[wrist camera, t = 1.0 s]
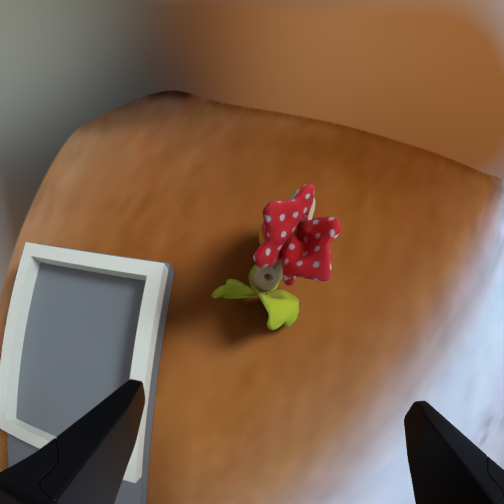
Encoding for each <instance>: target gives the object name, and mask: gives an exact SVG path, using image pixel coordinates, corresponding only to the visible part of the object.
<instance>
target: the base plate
mask: <svg viewBox="0 0 504 504" xmlns="http://www.w3.org/2000/svg"><path fill="white" fill-rule="evenodd" d="M174 273H175V271H174V269H173V268H172V266H171V264H170V263H164V262H157V261H150V260H143V259H136V258H129V257H122V256H115V255H109V254H102V253H95V252H89V251H82V250H76V249H69V248H63V247H57V246H50V245H44V244H38V243H37V244H34V243H28V242H26V244H25V247H24V250H23V254H22V257H21V261H20V264H19V268H18V272H17V276H16V280H15V284H14V288H13V292H12V296H11V301H10V306H9V311H8V316H7V321H6V327H5V333H4V339H3V346H2V353H1V361H0V429H2V430H4V431H5V432H7V447H8V468H9V467H11V466H12V465H14V464H16V463H18V462H20V461H21V460H23V459H25V458H27V457H28V456H30V455H31V454H33V453H35V452H36V451H38V450H39V449H40V448H42V447H43V446H45V445H46V444H47V443H49V442H50V441H51V440H53V439H54V438H56V437H57V436H58V435H59V434H61V433H62V432H63V431H64V430H66V429H67V428H68V427H70V426H71V425H72V424H73V423H75V422H76V421H77V420H79V419H80V418H81V417H82V416H84V415H85V414H86V413H87V412H89V411H90V410H91V409H92V408H94V407H95V406H96V405H98V404H99V403H100V402H101V401H103V400H104V399H105V398H106V397H108V396H109V395H110V394H111V393H113V392H114V391H115V390H116V389H118V388H119V387H120V386H121V385H123V384H124V383H125V382H126V381H128V380H129V379H134V380H139V381H142V383H143V386H144V392H145V406H144V410H143V414H142V418H141V422H140V427H139V431H138V436H137V440H136V444H135V447H134V449H133V452H132V455H131V458H130V460H129V463H128V466H127V469H126V472H125V474H124V477H123V480H122V483H121V486H120V488H119V491H118V494H117V497H116V500H115V503H114V504H147V485H148V470H149V456H150V444H151V433H152V423H153V414H154V404H155V396H156V388H157V380H158V372H159V365H160V357H161V350H162V344H163V337H164V331H165V324H166V318H167V312H168V306H169V300H170V295H171V289H172V284H173V278H174Z"/></svg>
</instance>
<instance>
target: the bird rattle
mask: <svg viewBox="0 0 504 504" xmlns="http://www.w3.org/2000/svg"><path fill="white" fill-rule="evenodd" d="M314 188H315V187H314V185H313V184H307V185H304V186H303V187H302V188H301V189H300V190H296V191H295V192H294V193H293V194H292V196H291V197H290V199H289V200H281V201H271V202H269V203H268V204H267V205H266V206H265V208H264V209H263V217H264V222H263V224H262V226H261V228H260V231H259V243H260V246H259V247H258V249H257V250H256V251H255V253H254V255H253V259H254V261H255V265H254V266H253V268H252V269H251V270H250V272H249V275H248V279H249V285H250V286H247V285H245V284H244V283H242V282H240V281H238V280H236V279H228V280H227V281H226V284H225V285H223V286H220V287H219V288H217V289H216V290H215V291H214V292H213V293H212V297H213V298H219V297H221V296H222V297H223V298H226V299H241V298H248V297H253V296H257V295H258V296H259V298H260V300H261V301H262V303H263V305H264V306H265V308H266V310H267V312H268V314H269V317H268V321H267V327H268V328H269V329H270V330H275V329H278V328H279V327H280V326H281V325H282V324H284V325H285V326H286V327H290V326H291V325H292V324H293V323H294V322H295V321H296V319H297V316H298V312H299V305H298V303H299V301H298V299H297V298H296V297H295V296H293V295H292V294H290V293H289V292H287V291H285V290H275V289H276V288H277V286H278V284H279V281H280V280H281V278H282V277H283V280H284V283H285V285H292V284H293V282H294V280H295V277H301V278H307V279H312V280H317V281H326V280H328V279H330V278H331V276H332V268H331V254H330V245H331V242H332V241H333V240H334V239H335V238H336V237H337V236H338V234H339V233H340V231H341V224H340V222H339V220H338V219H336V218H334V217H319V218H315V219H312V217H313V213H314V210H315V199H314Z"/></svg>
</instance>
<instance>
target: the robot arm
mask: <svg viewBox="0 0 504 504" xmlns="http://www.w3.org/2000/svg"><path fill="white" fill-rule="evenodd" d="M144 406H145V392H144V386H143V383H142V381H139V380H134V379H129V380H128V381H126V382H125V383H124V384H123V385H121V386H120V387H119V388H118V389H116V390H115V391H114V392H113V393H111V394H110V395H109V396H108V397H106V398H105V399H104V400H103V401H101V402H100V403H99V404H98V405H96V406H95V407H94V408H92V409H91V410H90V411H89V412H87V413H86V414H85V415H84V416H82V417H81V418H80V419H79V420H77V421H76V422H75V423H73V424H72V425H71V426H70V427H68V428H67V429H66V430H64V431H63V432H62V433H61V434H59V435H58V436H57V437H56V438H54V439H53V440H51V441H50V442H49V443H47V444H46V445H45V446H43V447H42V448H40V449H39V450H38V451H36V452H35V453H33V454H31V455H30V456H28V457H27V458H25V459H23V460H21V461H20V462H18V463H16V464H14V465H12V466H11V467H9V468H7V469H5V470H3V471H2V472H0V504H114V503H115V500H116V497H117V494H118V491H119V488H120V486H121V483H122V480H123V477H124V474H125V472H126V469H127V466H128V463H129V460H130V458H131V455H132V452H133V449H134V447H135V444H136V440H137V436H138V431H139V427H140V422H141V418H142V414H143V410H144ZM404 426H405V435H406V446H407V456H408V462H409V467H410V473H411V478H412V484H413V490H414V496H415V502H416V504H504V470H503V469H502V468H501V467H500V466H498V465H497V464H496V463H495V462H494V461H493V460H492V459H490V458H489V457H487V455H486V454H485V453H484V452H483V451H481V450H480V449H479V448H478V447H477V446H476V445H475V444H474V443H472V442H471V441H470V440H469V439H468V438H467V437H466V436H465V435H463V434H462V433H461V432H460V431H459V430H458V429H457V428H456V427H454V426H453V425H452V424H451V423H450V422H449V421H448V420H447V419H445V418H444V417H443V416H442V415H441V414H440V413H439V412H438V411H436V410H435V409H434V408H433V407H432V406H431V405H430V404H429V403H427V402H426V401H416V402H414V403H413V405H412V406H411V408H410V409H409V411H408V412H407V414H406V416H405V418H404Z"/></svg>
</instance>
